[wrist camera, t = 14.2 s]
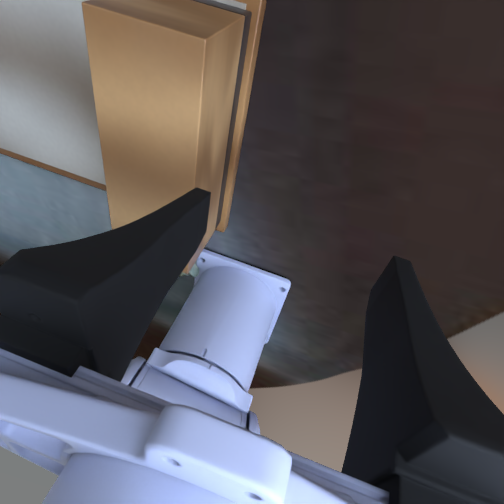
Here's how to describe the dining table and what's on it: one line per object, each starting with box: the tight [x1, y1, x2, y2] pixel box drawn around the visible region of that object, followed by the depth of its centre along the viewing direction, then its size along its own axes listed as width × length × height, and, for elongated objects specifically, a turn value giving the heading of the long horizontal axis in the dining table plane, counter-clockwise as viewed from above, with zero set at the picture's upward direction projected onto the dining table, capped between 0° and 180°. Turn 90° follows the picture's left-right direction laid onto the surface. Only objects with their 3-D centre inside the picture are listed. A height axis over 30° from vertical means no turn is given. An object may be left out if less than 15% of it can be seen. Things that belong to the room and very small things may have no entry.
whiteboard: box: [0, 0, 266, 232], centre depth 23 cm, size 15×20×1 cm
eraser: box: [81, 0, 252, 274], centre depth 20 cm, size 13×5×6 cm, turn 170°
